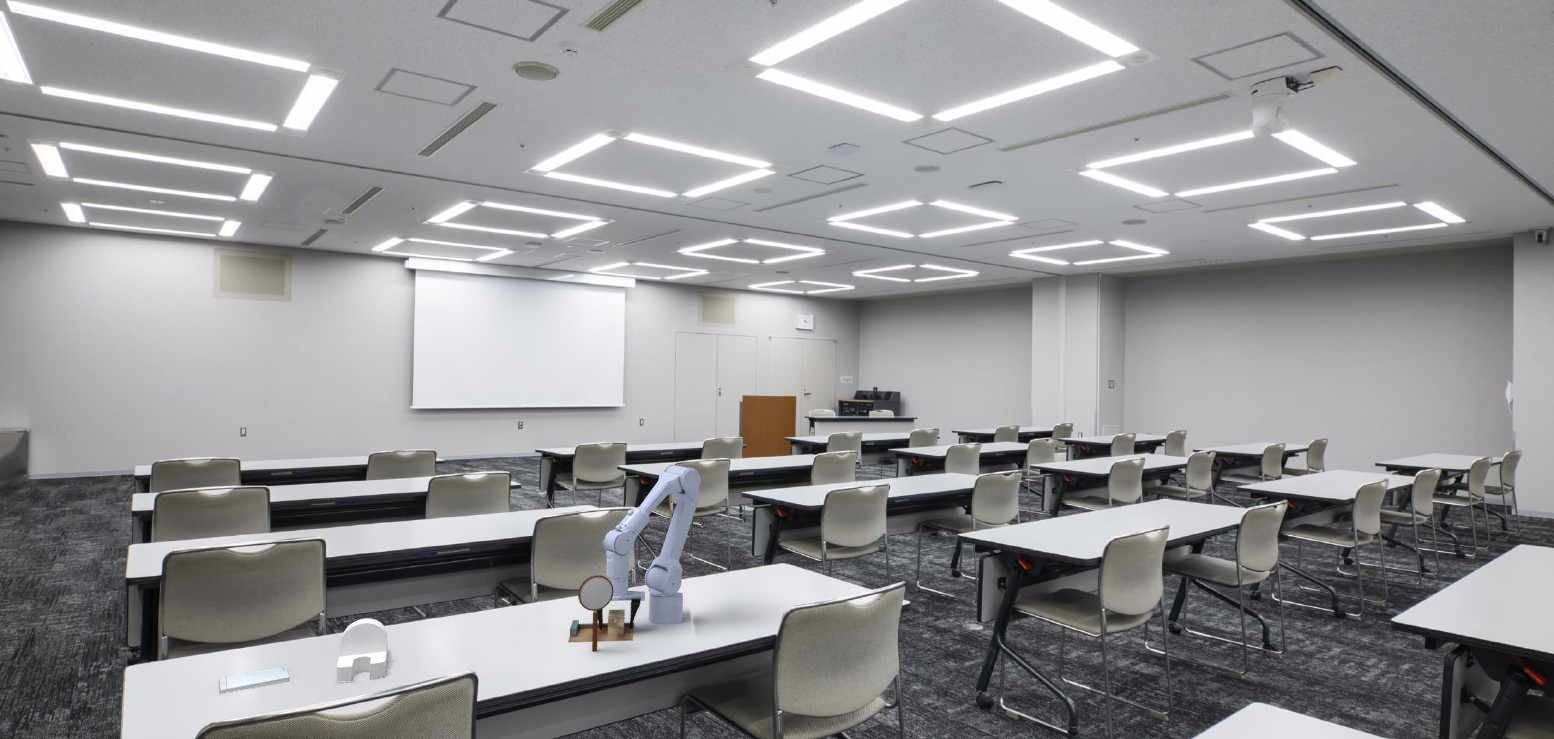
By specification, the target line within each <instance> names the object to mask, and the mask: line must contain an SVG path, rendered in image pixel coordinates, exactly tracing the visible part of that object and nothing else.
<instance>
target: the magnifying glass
mask: <svg viewBox="0 0 1554 739" xmlns="http://www.w3.org/2000/svg"><path fill="white" fill-rule="evenodd" d="M577 593H578V594H577V595H578V596H577V597H578V601H579V603H580V605H581V607H583V608H584V609H585V610H587V611H591V612H592V623H593V634H592V642H591V643H592V644H591V651H592V653H593V652H594V653H596V652H598V642H597V633H598V623H599V622H598V612H597V610H601V609H603V610H604V608H606V607H607V606H608V605H609V604H610V603H611V602H612V601H611V599H612V597H613V585H612V583H611V581H610V580H609V579H608V578H606V576H603V575H601V574H599V575H598V574H597V575H592V576H589V577H588V578H586V579H585V580H584V581H583V582H582V583H581V585H580V586H579V589H578V592H577Z"/></svg>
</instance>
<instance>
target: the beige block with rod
mask: <svg viewBox="0 0 1554 739" xmlns="http://www.w3.org/2000/svg"><path fill="white" fill-rule="evenodd" d="M625 612H626V611H625V608H624V609H609V610H608V615H607V623H608V635H623V634H624V623H625V616H626V615H625Z"/></svg>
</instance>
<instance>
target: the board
mask: <svg viewBox="0 0 1554 739" xmlns="http://www.w3.org/2000/svg"><path fill="white" fill-rule="evenodd" d="M629 628H630V622H624V634H623V635H608V622H603V628H602V630H600V628H599V622H598V633H597V643H598V642H630V641H633V639H634V629H635V622H634V621H633V626H632V629H629ZM592 634H593V622H592V623H580V621H579V619H575V620H574V619H573V620H572V621H571V624H570V628H569V637H568V641H567V643H592Z"/></svg>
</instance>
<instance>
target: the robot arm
mask: <svg viewBox="0 0 1554 739" xmlns="http://www.w3.org/2000/svg"><path fill="white" fill-rule="evenodd" d="M700 476H701V475H700V474H699V472H698V471H697V470H696V468H695V467H686V466H680V465H676V464H669V465H667V466H666V467H665V468H664V470H663V471H662V472H661V473H659V476H658V481H657V482H656V483H655V485H653V488H651V490H650V492H649V493H647V494H648V495H647V496H646V497H645V499H644V500H643V502H641V504H640V505H639V506H638V507H633V508H631V509H629V510H628V511H627V512H626V515H625V516H624V518H623V519H622V520H621V521H620V523H619V524H617V525H616V526H615V528H614V529H612V530H609V531H608V532H607V534H606V535H605V536H604V539H603V540H602V546H603V549H604V550H605V555H606V570H605V571H606V575H605V577H606V578H608V579H609V580H610V581H611V583H612V585H613V597H612V599H611V601H610V602H614V601H624V602H625V601H630V618H629V623H630V628H629V629H632V626H633V622H634V621H635V618H636V615H637V613H638V610H639V608H640V606H641V602H645V600H646V592H645V591H640V590H638V591H637V590H629V567H630V566H629V563H630V552H631V551H632V550H633V549H634V546H635V542H636V539H637V537H638V536H639V534H640V533H641V532H642V531H643V530H644V528H646V526H647V524H649V522H650V514H651V513H652V512H653V511H654V510H655V509H656V508H657V507H658V506H659V505H660V504H661V502H662V501H664V499H666V497H667V496H669V495H672V494H674V497H675V498H676V500H677V502H676V505H675V508H674V512H673V515H672V518H671V520H670V524H669V527H668V531H667V532H666V537H665V539H664V542H663V545H662V548H661V551H660V554H659V555H658V556H657V557H655V558H654V559H653V560H652V563H650V564H651V565H650V566H649V568H648V569H647V570H646V572H645V575H644V584H645V585H646V587H648V592H649V596H648V597H649V598H648V599H649V600H648V602H649V604H648V621H649V623H651V624H653V625H669V624H683V621H684V612H683V607H684V606H683V603H684V594H683V592H679V591H680V588H681V586H682V575H683V571H684V570H683V567H682V565H681V562H680V559H681V556H682V553H683V549H684V546H685V542H686V540H687V537H688V534H689V530H690V528H691V525H692V521H693V519H694V518H693V517H694V515H695V513H696V508H697V506H698V503H699V488H700V485H701V482H702V478H701V477H700ZM597 612H598V623H599V628H600V630H602V628H603V623H604V616H603V612H604V608H603V609H601V610H597Z"/></svg>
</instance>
